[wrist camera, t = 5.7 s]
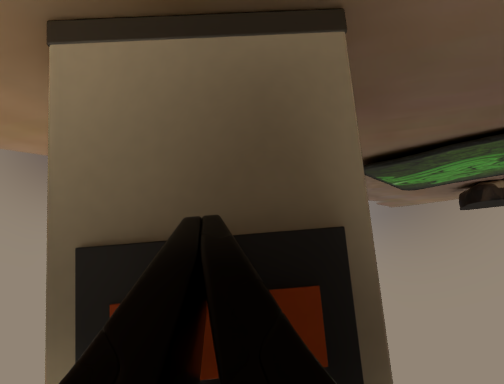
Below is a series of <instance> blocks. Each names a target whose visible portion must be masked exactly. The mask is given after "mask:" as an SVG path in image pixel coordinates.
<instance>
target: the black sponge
mask: <svg viewBox="0 0 504 384" xmlns="http://www.w3.org/2000/svg"><path fill="white" fill-rule="evenodd" d="M459 204H460V210H470V209H480V208H489V207H499V206H504V180H499V181H492V182H483V183H479V184H477V185H474V186H473V187H471V188H470V189H468V190H467V191H464V192H463V193H461V194H460V195H459Z"/></svg>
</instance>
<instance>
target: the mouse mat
mask: <svg viewBox="0 0 504 384" xmlns="http://www.w3.org/2000/svg"><path fill="white" fill-rule="evenodd" d="M363 167H364V175H367V176H369V177H371V178H374V179H376V180H379V181H382V182H384V183H387V184H389V185H391V186H394V187H396V188H399V189H401V190H408V191H409V190H419V189H424V188H430V187H435V186H440V185H445V184H451V183H456V182H462V181H468V180H474V179H480V178H486V177H492V176H498V175H504V134H500V135H494V136H489V137H484V138H481V139H476V140H471V141H466V142H461V143H456V144H452V145H448V146H445V147H441V148H437V149H433V150H430V151H426V152H422V153H419V154H415V155H410V156H406V157H402V158H398V159H393V160H388V161H382V162H377V163H372V164H367V165H363Z"/></svg>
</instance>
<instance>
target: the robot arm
mask: <svg viewBox="0 0 504 384" xmlns="http://www.w3.org/2000/svg"><path fill="white" fill-rule="evenodd" d="M207 306H208V313H209V320H210V326H211V332H212V339H213V345H214V351H215V358H216V364H217V371H218V377H219V383H220V384H337V383H336V382H335V381H334V379H333V378H332V377H331V376H330V375H329V373H328V372H327V371H326V370H325V369H324V367H323V366H322V365H321V364H320V362H319V361H318V360H317V359H316V357H315V356H314V355H313V354H312V352H311V351H310V350H309V349H308V347H307V346H306V345H305V343H304V342H303V340H302V339H301V338H300V336H299V335H298V333H297V332H296V330H295V329H294V328H293V326H292V325H291V323H290V322H289V320H288V319H287V317H286V315H285V314H284V313H282V310H281V308H280V307H279V305H278V304H277V302H276V301H275V299H274V297H273V296H272V294H271V293H270V291H269V290H268V288H267V287H266V285H265V284H264V282H263V281H262V279H261V278H260V276H259V275H258V273H257V272H256V270H255V269H254V267H253V265H252V264H251V262H250V261H249V259H248V258H247V256H246V255H245V253H244V252H243V250H242V249H241V247H240V246H239V244H238V243H237V241H236V240H235V238H234V236H233V235H232V233H231V232H230V230H229V229H228V227H227V226H226V224H225V223H224V221H223V220H222V218H221V217H220V216H219V215H205V216H203V217H202V218H201V217H200V216H192V217H185V218H183V219H182V221H181V222H180V223H179V225H178V226H177V228H176V229H175V230H174V232H173V233H172V234H171V236H170V237H169V238H168V240H167V241H166V242H165V244H164V245H163V246H162V248H161V249H160V251H159V252H158V253H157V255H156V256H155V257H154V259H153V260H152V261H151V263H150V264H149V265H148V267H147V268H146V269H145V271H144V272H143V274H142V275H141V276H140V278H139V279H138V280H137V282H136V283H135V284H134V286H133V287H132V288H131V290H130V291H129V292H128V294H127V295H126V296H125V298H124V299H123V301H122V302H121V303H120V305H119V306H118V307H117V309H116V310H115V311H114V313H113V314H112V315H111V317H110V318H109V319H108V321H107V322H106V324H105V325H104V326H103V330H101V331H99V333H98V334H97V335H96V337H95V338H94V339H93V341H92V342H91V344H90V345H89V346H88V348H87V349H86V350H85V351H84V353H83V354H82V355H81V357H80V358H79V359H78V360H77V362H76V363H75V364H74V366H73V367H72V368H71V369H70V371H69V372H68V373H67V374H66V375H65V377H64V378H63V379H62V380H61V381H60V383H59V384H199V383H200V373H201V364H202V354H203V344H204V334H205V324H206V313H207Z"/></svg>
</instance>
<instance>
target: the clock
mask: <svg viewBox="0 0 504 384" xmlns="http://www.w3.org/2000/svg"><path fill="white" fill-rule="evenodd" d="M346 32H347V25H346V18H345V11H344V9H327V10H303V11H278V12H254V13H229V14H205V15H181V16H156V17H132V18H107V19H83V20H58V21H47V45H48V46H49V118H48V196H47V199H48V200H47V203H48V204H47V275H46V276H47V279H46V355H45V384H59V383H60V381H61V380H62V379H63V378H64V377H65V375H66V374H67V373H68V372H69V371H70V369H71V368H72V367H73V366H74V364H75V363H76V362H77V360H78V359H79V358H80V357H81V355H82V354H83V353H84V351H85V350H86V349H87V348H88V346H89V345H90V344H91V342H92V341H93V339H94V338H95V337H96V335H97V334H98V333H99V331H101V330H103V326H104V325H105V324H106V322H107V321H108V319H109V318H110V317H111V315H112V314H113V313H114V311H115V310H116V309H117V307H118V306H119V305H120V303H121V302H122V301H123V299H124V298H125V296H126V295H127V294H128V292H129V291H130V290H131V288H132V287H133V286H134V284H135V283H136V282H137V280H138V279H139V278H140V276H141V275H142V274H143V272H144V271H145V269H146V268H147V267H148V265H149V264H150V263H151V261H152V260H153V259H154V257H155V256H156V255H157V253H158V252H159V251H160V249H161V248H162V246H163V245H164V244H165V242H166V241H167V240H168V238H169V237H170V236H171V234H172V233H173V232H174V230H175V229H176V228H177V226H178V225H179V223H180V222H181V221H182V219H183V218H185V217H192V216H200V217H201V218H202V217H203V216H205V215H219V216H220V217H221V218H222V220H223V221H224V223H225V224H226V226H227V227H228V229H229V230H230V232H231V233H232V235H233V236H234V238H235V240H236V241H237V243H238V244H239V246H240V247H241V249H242V250H243V252H244V253H245V255H246V256H247V258H248V259H249V261H250V262H251V264H252V265H253V267H254V269H255V270H256V272H257V273H258V275H259V276H260V278H261V279H262V281H263V282H264V284H265V285H266V287H267V288H268V290H269V291H270V293H271V294H272V296H273V297H274V299H275V301H276V302H277V304H278V305H279V307H280V308H281V310H282V313H284V314H285V315H286V317H287V319H288V320H289V322H290V323H291V325H292V326H293V328H294V329H295V330H296V332H297V333H298V335H299V336H300V338H301V339H302V340H303V342H304V343H305V345H306V346H307V347H308V349H309V350H310V351H311V352H312V354H313V355H314V356H315V357H316V359H317V360H318V361H319V362H320V364H321V365H322V366H323V367H324V369H325V370H326V371H327V372H328V373H329V375H330V376H331V377H332V378H333V379H334V381H335V382H336V383H337V384H393V380H392V372H391V365H390V358H389V350H388V343H387V336H386V329H385V322H384V314H383V307H382V299H381V292H380V285H379V278H378V271H377V262H376V255H375V248H374V241H373V233H372V226H371V219H370V211H369V204H368V197H367V189H366V182H365V175H364V167H363V160H362V153H361V145H360V138H359V131H358V123H357V116H356V109H355V101H354V94H353V87H352V80H351V72H350V65H349V58H348V50H347V43H346V36H345V34H346ZM199 384H220V383H219V377H218V371H217V364H216V358H215V351H214V345H213V339H212V332H211V326H210V320H209V313H208V306H207V313H206V324H205V334H204V344H203V354H202V364H201V373H200V383H199Z"/></svg>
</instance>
